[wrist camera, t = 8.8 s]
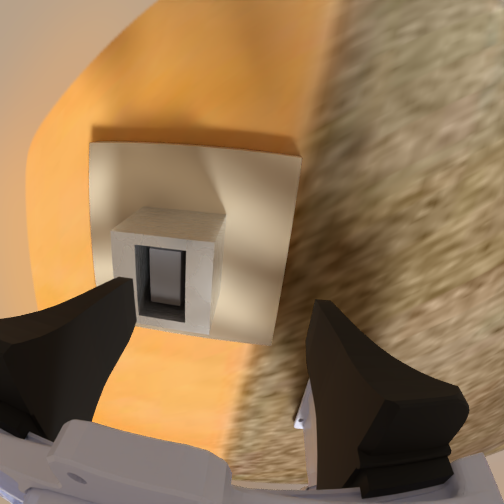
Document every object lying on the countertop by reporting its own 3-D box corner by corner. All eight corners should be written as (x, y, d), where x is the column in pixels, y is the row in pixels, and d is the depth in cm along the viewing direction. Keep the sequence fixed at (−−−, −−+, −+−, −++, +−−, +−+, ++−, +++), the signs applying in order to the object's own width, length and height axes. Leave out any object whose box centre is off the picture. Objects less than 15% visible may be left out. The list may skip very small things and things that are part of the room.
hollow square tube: (220, 291, 22) (209, 334, 18) (144, 281, 22) (118, 319, 18) (226, 214, 20) (214, 242, 16) (143, 206, 20) (110, 230, 16)
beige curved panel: (270, 336, 25) (271, 382, 20) (106, 311, 25) (79, 348, 20) (300, 156, 20) (311, 166, 15) (98, 141, 20) (56, 149, 15)
